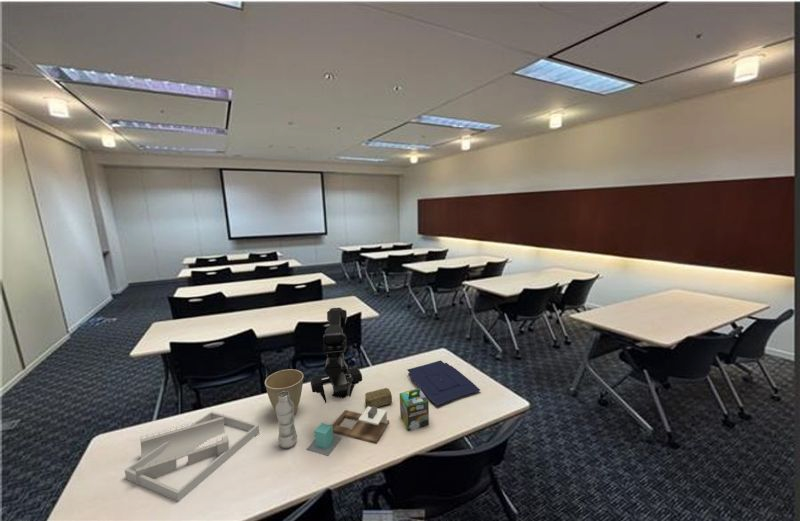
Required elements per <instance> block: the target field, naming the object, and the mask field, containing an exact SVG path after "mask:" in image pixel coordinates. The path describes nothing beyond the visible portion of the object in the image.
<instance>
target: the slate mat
mask: <svg viewBox="0 0 800 521" xmlns="http://www.w3.org/2000/svg"><path fill="white" fill-rule="evenodd" d="M341 440H342V437H340V436H336V435H334V434H333V441H332V443H331V444H330V445H329V447H328V448H327V449H324V448H321V447H317V446H316V442H315V439H314V440H313V441H312V442H311V443H310V444H309V446H307V448H306V450H307V451H309V452H313V453H316V454H319V455H323V456H326V457H329V455H330V454H331V453H332V452H333V450H334V449H335V448H336V447H337V446H338V444H339V443H340V441H341Z"/></svg>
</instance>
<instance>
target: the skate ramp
mask: <svg viewBox="0 0 800 521" xmlns="http://www.w3.org/2000/svg"><path fill="white" fill-rule="evenodd" d="M219 414H220V415H221V414H222V413H219ZM222 415H223V417H220V418H219V416H218V418H216V419H213V420H209V421H205V422H204V419H202V420H203V422H202V423H198V424H195V425H192V424H194V423H195V422H197V420H195V421H193V422H190V425H189V423H185V424H181V425H180V428H179V427H178V426H179V425H178V426H176V427H171V428H169V429H168V428H167V429H163V431H161V430H158V432H156V431H155V432H154V434H150V433H149V434H147V436H146V437H145V436H143V435H142V436H140V439H139V441H140V459H142V458H143V457H145V456H146V455H147V454H149V453H150V452H152V451H153V450H155V449H156V448H158V447H159V446H161V445H162V444H164V443H165V442H168V441H170V443H169V445H168V446H167V448H166V449H165V450H164V451H163V452H162V453H161V454H160V455H158V456H157V457H156V458H154V459H153V460H151V461H150V462H148V463H147V464H146V465H144V466H142V467H140V468H138V467H137V469H135V471H136V481H137V483H136V486H139V476H140V475H145V476H147V477H149V478H152V479H154V480H156V479H157V478H161V477H163V476H165V475H168V474H170V473H173V472H176V471H177V464H178V461H179V460H180V459H183V458H184V457H187V461H188V463H187V464H188V466H189V467H190V465H194V464H196V463H199V462H201V461H205V460H206V459H209V458H212V457H215V456H217V457H219V456H220V455H221V454H222V453H223V452H225V451H227V450H229V446H230V444H229V435H225V436H223V437H221V440H216V442H214V443H211V444H207V445H204V446H203V444H205V443H206V442H208V441H209V440H211V439H213V438H216V437H218V436H221V435H223V434H225V433H226V431H225V424H224V415H225V414H222ZM213 417H214V416H213ZM209 418H210V417H209ZM209 418H208V419H209ZM208 419H207V420H208ZM211 419H212V418H211ZM200 422H201V421H200ZM184 426H185V427H184ZM172 429H173V430H172ZM207 440H208V441H207ZM204 442H205V443H204ZM201 444H202V445H201ZM199 445H200V446H202V447H200V446H199ZM217 457H216V458H217ZM135 468H136V467H135Z"/></svg>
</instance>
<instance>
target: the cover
mask: <svg viewBox="0 0 800 521" xmlns="http://www.w3.org/2000/svg"><path fill="white" fill-rule="evenodd" d="M361 414H362V415H361V416H360V418H359V419H358V421H362V422H366V423H370V424H374V425H379V423H380V422H382V423H387V420H388V412H387V410H386V409H382V408H381V409H380V408H378V407H373V406H372V407H369V406H368V407H365V410H364V411H363V412H362V413H361Z"/></svg>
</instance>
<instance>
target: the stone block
mask: <svg viewBox="0 0 800 521" xmlns="http://www.w3.org/2000/svg"><path fill="white" fill-rule="evenodd" d="M392 395H393V394H392V391H391V390H390V388H387V387H385V388H380V389H375V390H372V391H369V392H366V393H365V397H364V401H365V402H364V403H365V408H367V407H368V406H369V407H372V406H373V407H377V408H379V407H382V406H386V405H390V404H391V403H393V396H392Z"/></svg>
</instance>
